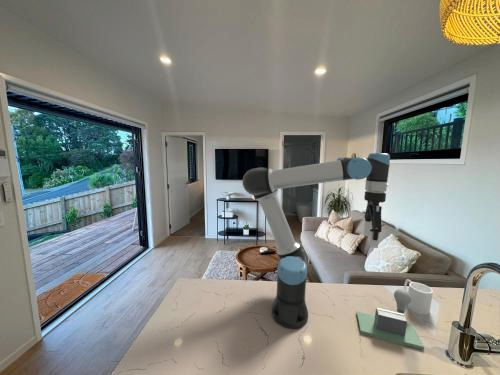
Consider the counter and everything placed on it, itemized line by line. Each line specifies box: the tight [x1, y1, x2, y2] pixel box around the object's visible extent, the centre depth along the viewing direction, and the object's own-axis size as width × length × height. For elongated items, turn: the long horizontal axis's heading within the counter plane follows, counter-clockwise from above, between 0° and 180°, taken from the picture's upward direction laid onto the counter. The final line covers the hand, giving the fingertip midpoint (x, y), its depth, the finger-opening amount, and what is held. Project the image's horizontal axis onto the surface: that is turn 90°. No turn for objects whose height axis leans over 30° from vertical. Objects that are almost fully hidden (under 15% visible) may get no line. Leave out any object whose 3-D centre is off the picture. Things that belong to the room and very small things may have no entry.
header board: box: [356, 311, 425, 351], centre depth 83 cm, size 20×11×5 cm, turn 71°
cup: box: [403, 278, 434, 316], centre depth 97 cm, size 8×12×10 cm
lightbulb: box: [393, 288, 411, 315], centre depth 91 cm, size 6×6×11 cm
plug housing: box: [374, 307, 408, 336], centre depth 82 cm, size 9×4×6 cm, turn 71°
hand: (370, 241), depth 90 cm, fingers open, 13 cm apart
